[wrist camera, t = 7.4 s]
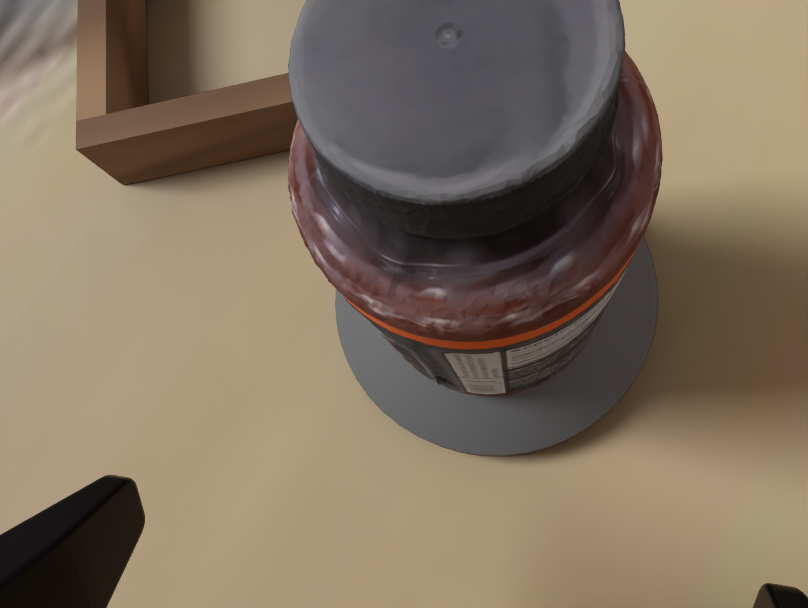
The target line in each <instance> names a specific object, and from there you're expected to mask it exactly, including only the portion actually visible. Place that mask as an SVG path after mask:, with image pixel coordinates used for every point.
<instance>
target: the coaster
mask: <svg viewBox="0 0 808 608" xmlns="http://www.w3.org/2000/svg"><path fill="white" fill-rule="evenodd" d="M335 306H336V320H337V327H338V332H339V336H340V341H341V345H342V347H343V350H344V353H345V356H346V359H347V361H348V363H349V365H350V367H351V369H352V371H353V373H354V375H355V377H356V379H357V380H358V382H359V383H360V385H361V386H362V387H363V389H364V390H365V392H366V393H367V395H368V396H369V397H370V398H371V399H372V400H373V401H374V402H375V404H376V405H377V406H378V407H379V408H380V409H381V410H382V411H383V412H384V413H385V414H387V415H388V416H389V417H390V418H391V419H393V420H394V421H395V422H396V423H398V424H399V425H400V426H402V427H404V428H405V429H407V430H408V431H410V432H412V433H413V434H415V435H417V436H418V437H420V438H423V439H425V440H427V441H429V442H432V443H434V444H436V445H438V446H441V447H444V448H447V449H451V450H454V451H458V452H461V453H468V454H474V455H481V456H509V455H518V454H526V453H530V452H534V451H538V450H542V449H545V448H548V447H551V446H553V445H556V444H558V443H561V442H563V441H566V440H568V439H569V438H571V437H573V436H575V435H576V434H578V433H580V432H582V431H583V430H585V429H586V428H588V427H589V426H590V425H592V424H593V423H594V422H595V421H597V420H598V419H599V418H601V417H602V416H603V415H604V414H606V413H607V412H608V411H609V410H610V409H611V408H612V407H613V406H614V405H615V404H616V403H617V402H618V401H619V400H620V399H621V398H622V396H623V395H624V393H625V392H626V391H627V389H628V388H629V387H630V385H631V384H632V383H633V381H634V380H635V378H636V376H637V374H638V373H639V371H640V369H641V367H642V365H643V363H644V361H645V359H646V356H647V354H648V351H649V348H650V345H651V343H652V340H653V335H654V330H655V326H656V321H657V309H658V290H657V278H656V273H655V269H654V264H653V260H652V256H651V253H650V251H649V248H648V246H647V243H646V240H645V238H644V236H643V237H642V239H641V241H640V244H639V246H638V248H637V250H636V252H635V254H634V256H633V258H632V260H631V262H630V264H629V265H628V267H627V269H626V271H625V273H624V275H623V277H622V279H621V281H620V283H619V284H618V286H617V288H616V290H615V292H614V294H613V296H612V298H611V300H610V301H609V303H608V305H607V307H606V309H605V311H604V313H603V314H602V316H601V318H600V320H599V322H598V323H597V326H596V328H595V330H594V332H593V334H592V335H591V337H590V338H589V340H588V342H587V343H586V345H585V347H584V348H583V349H582V350H581V352H580V353H579V354H578V355H577V356H576V358H575V359H574V360H573V361H572V362H571V363H570V364H569V365H568V366H567V367H566V368H565V369H564V370H563V371H561V372H560V373H559V374H557V375H556V376H554V377H553V378H551V379H550V380H548V381H546V382H544V383H543V384H541V385H539V386H537V387H535V388H533V389H530V390H527V391H524V392H521V393H517V394H511V395H505V396H495V397H492V396H477V395H471V394H465V393H461V392H458V391H455V390H451V389H448V388H446V387H444V386H442V385H438V383H437V382H435V381H433V380H430V379H428V378H427V377H426V376H424V375H423V374H422V373H420V372H419V371H418V370H416V369H415V368H414V367H413V366H412V365H411V364H410V363H409V362H407V361H406V360H405V359H404V358H403V356H402V355H401V354H400V353H399V352H398V351H397V350H396V349H395V348H394V347H393V346H392V345H391V344H390V343H389V342H388V341H387V340H386V339H385V338H384V337H383V336H382V335H381V334H380V333H379V332H378V331H377V330H376V329H375V327H374V326H373V325H372V324H370V323H369V322H368V321H367V320H366V319H365V318H364V317H363V316H362V315H361V314H360V313H359V312H358V311H357V310H356V309H354V308H353V307H352V306H351V305H350V304H349V303H348V302H347V301H346V299H345V298H344V296H343V295H342V294H341V293H340V292H339V291H338V290H337V289H336V302H335Z"/></svg>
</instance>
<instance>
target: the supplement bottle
mask: <svg viewBox="0 0 808 608" xmlns="http://www.w3.org/2000/svg"><path fill="white" fill-rule="evenodd" d="M288 67H289V85H290V90H291V99H292V102H293V105H294V108H295V111H296V114H297V117H298V121H297V124H296V127H295V130H294V133H293V139H292V143H291V147H290V157H289V161H288V164H289V167H288V181H289V185H288V189H289V192H290V195H291V196H290V199H291V202H292V213H293V216H294V218H295V220H296V223H297V226H298V228H299V231H300V234H301V236H302V238H303V240H304V243H305V246H306V247H307V248H308V250H309V251H310V253H311V256H312V258H313V260H314V262H315V264H316V265H317V266H318V267H319V268H320V269H321V270H322V272H323V273H324V275H325V276H326V278H327V279H328V281H329V282H330V283H331V284H332V285H333V286H334V287H335V288H336V289H337V290H338V291H339V292H340V293H341V294H342V295H343V296H344V298H345V299H346V301H347V302H348V303H349V304H350V305H351V306H352V307H353V308H354V309H356V310H357V311H358V312H359V313H360V314H361V315H362V316H363V317H364V318H365V319H366V320H367V321H368V322H369V323H370V324H372V325H373V326H374V327H375V329H376V330H377V331H378V332H379V333H380V334H381V335H382V336H383V337H384V338H385V339H386V340H387V341H388V342H389V343H390V344H391V345H392V346H393V347H394V348H395V349H396V350H397V351H398V352H399V353H400V354H401V355H402V356H403V358H404V359H405V360H406V361H407V362H409V363H410V364H411V365H412V366H413V367H414V368H415V369H416V370H418V371H419V372H420V373H422V374H423V375H424V376H426V377H427V378H428V379H430V380H433V381H435V382H437V383H438V385H442V386H444V387H446V388H448V389H451V390H455V391H458V392H461V393H465V394H471V395H477V396H492V397H495V396H505V395H511V394H517V393H521V392H524V391H527V390H530V389H533V388H535V387H537V386H539V385H541V384H543V383H544V382H546V381H548V380H550V379H551V378H553V377H554V376H556V375H557V374H559V373H560V372H561V371H563V370H564V369H565V368H566V367H567V366H568V365H569V364H570V363H571V362H572V361H573V360H574V359H575V358H576V356H577V355H578V354H579V353H580V352H581V350H582V349H583V348H584V347H585V345H586V343H587V342H588V340H589V338H590V337H591V335H592V334H593V332H594V330H595V328H596V326H597V323H598V322H599V320H600V318H601V316H602V314H603V313H604V311H605V309H606V307H607V305H608V303H609V301H610V300H611V298H612V296H613V294H614V292H615V290H616V288H617V286H618V284H619V283H620V281H621V279H622V277H623V275H624V273H625V271H626V269H627V267H628V265H629V264H630V262H631V260H632V258H633V256H634V254H635V252H636V250H637V248H638V246H639V244H640V241H641V239H642V237H643V235H644V233H645V231H646V228H647V226H648V224H649V221H650V219H651V216H652V212H653V209H654V205H655V202H656V198H657V195H658V191H659V186H660V178H661V166H662V140H661V131H660V125H659V119H658V114H657V111H656V108H655V104H654V102H653V99H652V96H651V94H650V91H649V89H648V87H647V85H646V83H645V81H644V79H643V77H642V75H641V73H640V72H639V70H638V68H637V66H636V65H635V63H634V62H633V61H632V59H631V58H630V57H629V55H628V54H627V53H626V51H625V30H624V21H623V15H622V12H621V8H620V2H619V0H306V2H305V4H304V6H303V8H302V11H301V13H300V16H299V19H298V22H297V25H296V28H295V31H294V34H293V37H292V40H291V48H290V58H289V64H288Z"/></svg>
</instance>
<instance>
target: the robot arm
mask: <svg viewBox="0 0 808 608" xmlns="http://www.w3.org/2000/svg"><path fill="white" fill-rule="evenodd" d="M144 524H145V514H144V510H143V506H142V503H141V499H140V496H139V492H138V489H137V485H136V483H135V482H134V481H133V480H132V479H131V478H128V477H122V476H116V475H107V476H104V477H102V478H100V479H98V480H96V481H95V482H93V483H91V484H89V485H87V486H86V487H84V488H82V489H80V490H79V491H77V492H75V493H73V494H72V495H70V496H68V497H66V498H65V499H63V500H61V501H59V502H57V503H56V504H54V505H52V506H50V507H49V508H47V509H45V510H43V511H42V512H40V513H38V514H36V515H34V516H33V517H31V518H29V519H27V520H26V521H24V522H22V523H20V524H19V525H17V526H15V527H13V528H12V529H10V530H8V531H6V532H4V533H3V534H1V535H0V608H107V606H108V603H109V601H110V599H111V597H112V595H113V593H114V591H115V589H116V586H117V584H118V582H119V580H120V578H121V576H122V574H123V572H124V569H125V567H126V565H127V563H128V561H129V559H130V557H131V555H132V553H133V550H134V548H135V546H136V544H137V542H138V540H139V538H140V536H141V533H142V531H143V528H144ZM753 608H808V597H807V596H806V595H805V594H804V593H803V592H802V591H801V590H799V589H797V588H794V587H790V586H784V585H778V584H771V583H766V584H764V585H763V586H762V587H761V588H760V590H759V593H758V595H757V598H756V600H755V603H754V606H753Z"/></svg>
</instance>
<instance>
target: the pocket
mask: <svg viewBox="0 0 808 608" xmlns="http://www.w3.org/2000/svg"><path fill="white" fill-rule="evenodd" d="M297 121H298V117H297V114H296V111H295V108H294V105H293V102H292V99H291V90H290V85H289V73H286V74H282V75H277V76H273V77H269V78H264V79H260V80H255V81H251V82H247V83H242V84H238V85H233V86H229V87H224V88H220V89H216V90H211V91H207V92H202V93H198V94H194V95H189V96H185V97H180V98H176V99H171V100H167V101H163V102H158V103H154V104H149V105H148V72H147V29H146V0H78V32H77V105H76V150H77V151H79V152H80V153H81V154H83V155H84V156H85V157H87V158H88V159H89V160H91V161H92V162H93V163H95V164H96V165H97V166H98V167H100V168H101V169H102V170H104V171H105V172H106V173H108V174H109V175H110V176H112V177H113V178H114V179H116V180H117V181H118V182H120V183H121V184H122V185H126V184H130V183H135V182H140V181H144V180H149V179H154V178H159V177H163V176H168V175H173V174H178V173H182V172H187V171H192V170H197V169H201V168H206V167H211V166H215V165H220V164H225V163H230V162H234V161H239V160H244V159H249V158H253V157H258V156H263V155H267V154H272V153H277V152H282V151H286V150H290V147H291V143H292V139H293V133H294V130H295V127H296V124H297Z"/></svg>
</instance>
